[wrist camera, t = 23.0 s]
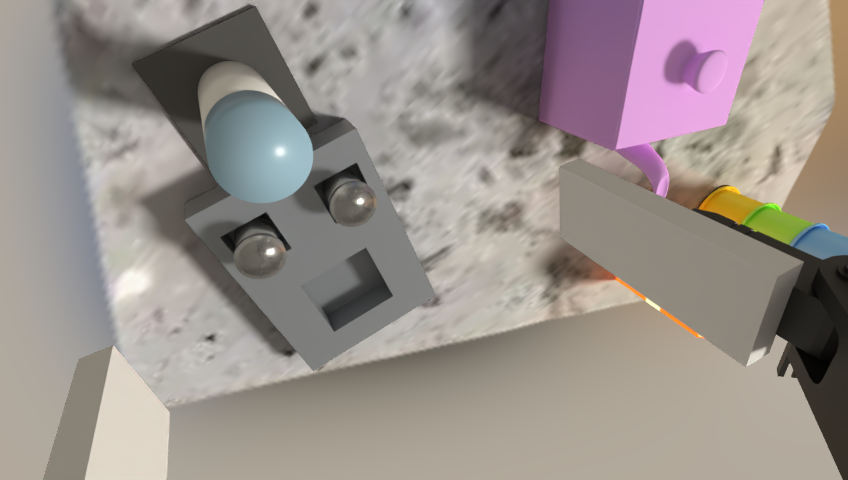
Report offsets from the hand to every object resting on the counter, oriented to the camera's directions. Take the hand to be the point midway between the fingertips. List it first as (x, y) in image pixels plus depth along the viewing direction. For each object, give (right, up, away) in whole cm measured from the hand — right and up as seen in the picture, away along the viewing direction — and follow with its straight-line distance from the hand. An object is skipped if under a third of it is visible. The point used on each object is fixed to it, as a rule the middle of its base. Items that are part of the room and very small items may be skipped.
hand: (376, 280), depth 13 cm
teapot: (+21, +21, +38) cm, 48 cm away
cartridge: (-14, +13, +23) cm, 30 cm away
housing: (-9, 0, +34) cm, 35 cm away
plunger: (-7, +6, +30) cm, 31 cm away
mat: (-14, +13, +24) cm, 31 cm away
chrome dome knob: (-14, +2, +28) cm, 32 cm away
